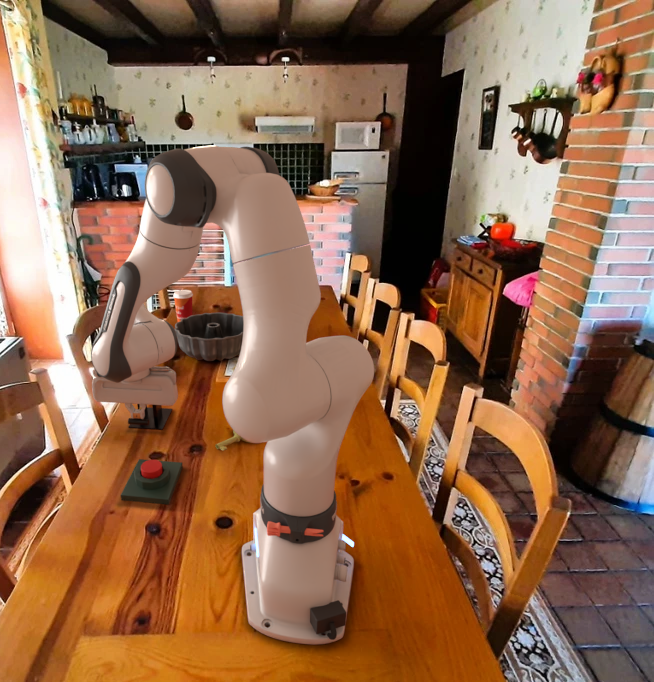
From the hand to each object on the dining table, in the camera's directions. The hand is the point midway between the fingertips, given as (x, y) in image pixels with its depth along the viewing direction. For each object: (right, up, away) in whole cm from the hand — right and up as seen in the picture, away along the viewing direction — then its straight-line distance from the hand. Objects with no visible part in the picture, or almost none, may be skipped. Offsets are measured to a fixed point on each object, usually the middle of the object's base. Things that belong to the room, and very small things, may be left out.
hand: (138, 417), depth 116 cm
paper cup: (+9, +24, +75) cm, 79 cm away
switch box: (+5, -12, -14) cm, 19 cm away
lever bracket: (+2, -3, +10) cm, 11 cm away
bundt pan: (+20, +15, +50) cm, 56 cm away
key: (+24, -6, 0) cm, 25 cm away
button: (+5, -9, -15) cm, 18 cm away
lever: (+1, +2, +5) cm, 5 cm away
